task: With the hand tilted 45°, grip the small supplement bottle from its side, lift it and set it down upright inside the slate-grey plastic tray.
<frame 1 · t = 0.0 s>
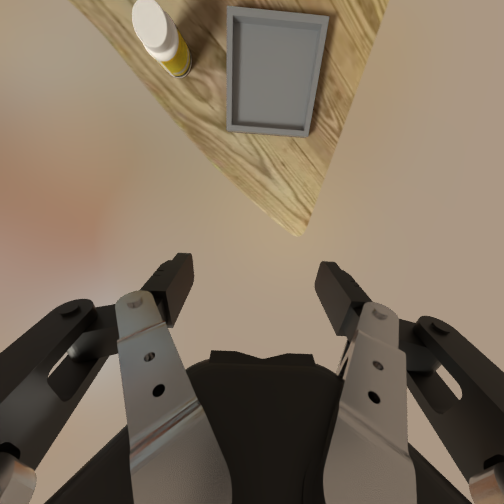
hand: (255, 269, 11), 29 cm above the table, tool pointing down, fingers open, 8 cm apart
tray: (271, 84, 30), on the table
supplement bottle: (177, 59, 28), on the table
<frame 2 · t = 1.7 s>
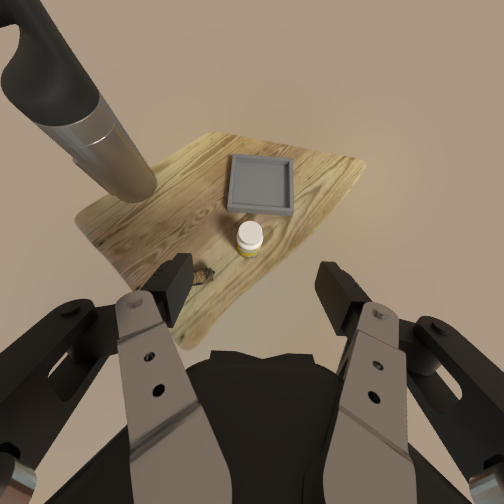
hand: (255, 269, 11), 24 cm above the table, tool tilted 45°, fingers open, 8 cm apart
cat figurine: (197, 279, 35), on the table
tray: (261, 187, 42), on the table
supplement bottle: (248, 248, 38), on the table
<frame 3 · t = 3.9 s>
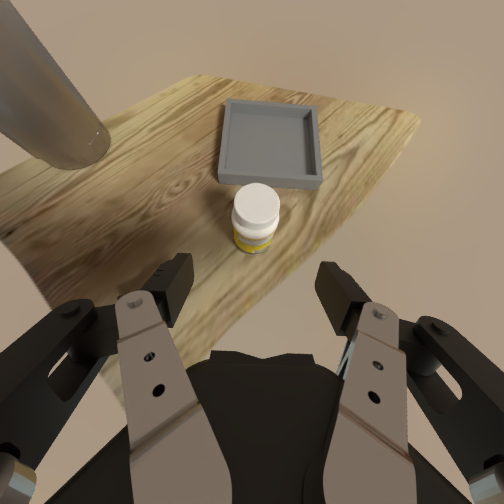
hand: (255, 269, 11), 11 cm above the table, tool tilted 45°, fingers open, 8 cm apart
tray: (269, 148, 28), on the table
supplement bottle: (252, 238, 24), on the table
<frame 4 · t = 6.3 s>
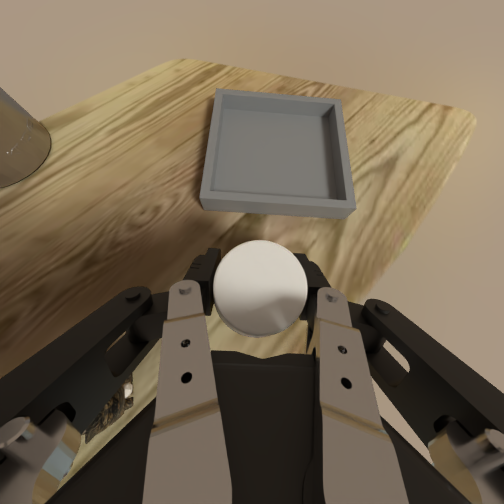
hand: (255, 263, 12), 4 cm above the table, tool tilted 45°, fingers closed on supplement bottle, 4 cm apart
cat figurine: (96, 395, 13), on the table
tray: (275, 158, 20), on the table
supplement bottle: (251, 296, 16), on the table, touching gripper
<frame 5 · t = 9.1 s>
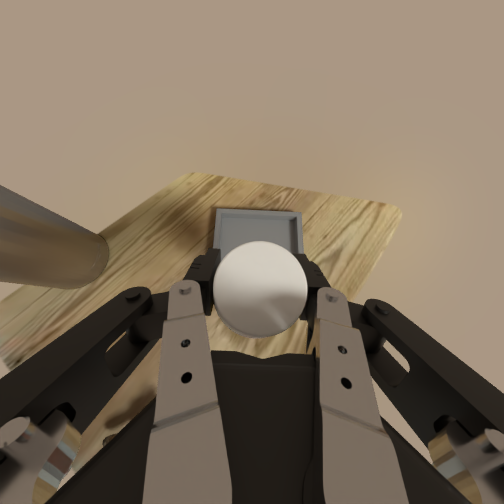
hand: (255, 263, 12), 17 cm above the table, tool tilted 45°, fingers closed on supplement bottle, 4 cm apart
tray: (257, 254, 30), on the table
supplement bottle: (251, 297, 16), point 12 cm above the table, touching gripper
when the fingers open (6 cm above the table, at t = 12.2 s): supplement bottle drops 1 cm, resting on tray.
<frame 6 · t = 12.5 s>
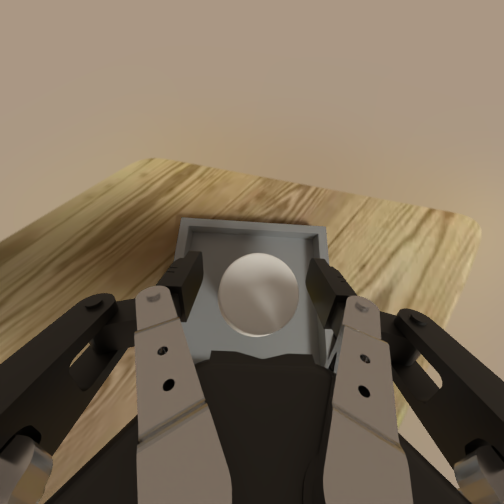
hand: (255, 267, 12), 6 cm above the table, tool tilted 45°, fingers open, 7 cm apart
tray: (250, 297, 17), on the table
supplement bottle: (251, 299, 17), resting on tray
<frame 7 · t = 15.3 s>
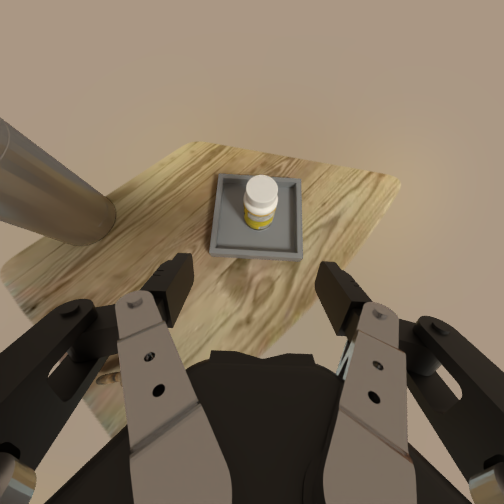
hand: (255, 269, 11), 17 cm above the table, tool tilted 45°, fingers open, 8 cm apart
cat figurine: (136, 368, 25), on the table
tray: (257, 218, 31), on the table
supplement bottle: (258, 219, 30), resting on tray
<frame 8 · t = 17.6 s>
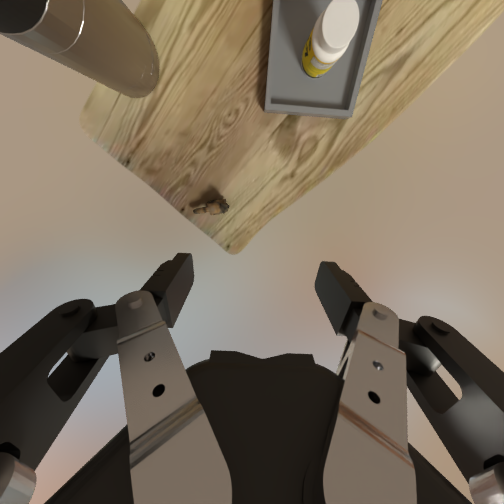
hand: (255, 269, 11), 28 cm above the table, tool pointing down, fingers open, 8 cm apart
cat figurine: (213, 206, 38), on the table
tray: (314, 58, 27), on the table
supplement bottle: (315, 59, 27), resting on tray
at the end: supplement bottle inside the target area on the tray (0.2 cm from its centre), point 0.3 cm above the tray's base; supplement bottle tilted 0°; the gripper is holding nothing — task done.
